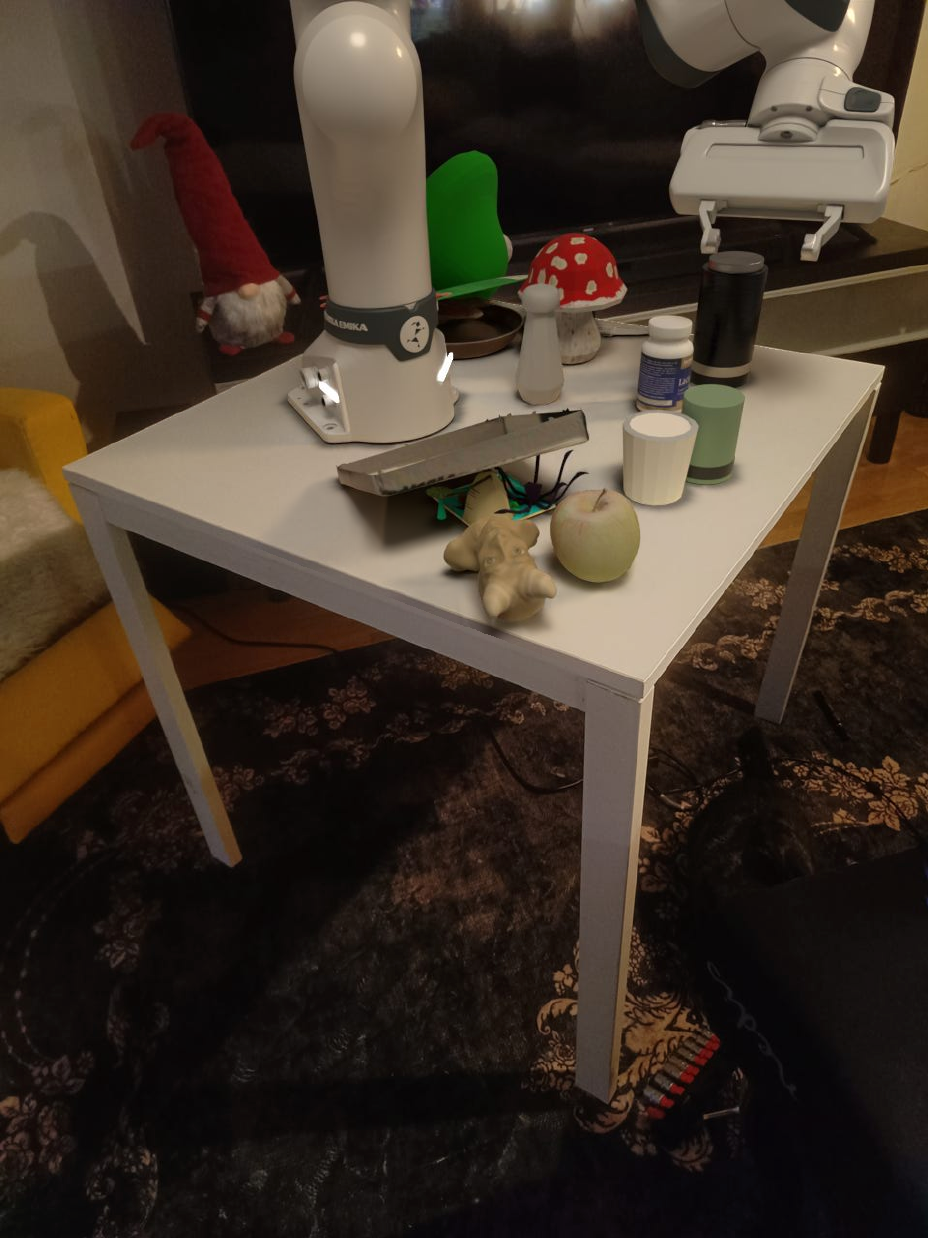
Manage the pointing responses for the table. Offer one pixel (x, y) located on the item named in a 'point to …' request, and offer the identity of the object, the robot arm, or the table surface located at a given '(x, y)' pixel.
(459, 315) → the stone tool
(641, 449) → the white cup
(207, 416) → the table surface
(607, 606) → the table surface
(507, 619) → the beige knobby lump
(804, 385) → the table surface
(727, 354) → the flask
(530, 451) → the decorative tile
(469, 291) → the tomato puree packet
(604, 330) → the pocket knife
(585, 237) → the decorative mushroom
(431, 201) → the toy
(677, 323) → the pill bottle
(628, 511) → the fruit
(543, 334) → the salt shaker
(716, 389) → the green cylinder
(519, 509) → the diorama
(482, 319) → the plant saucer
